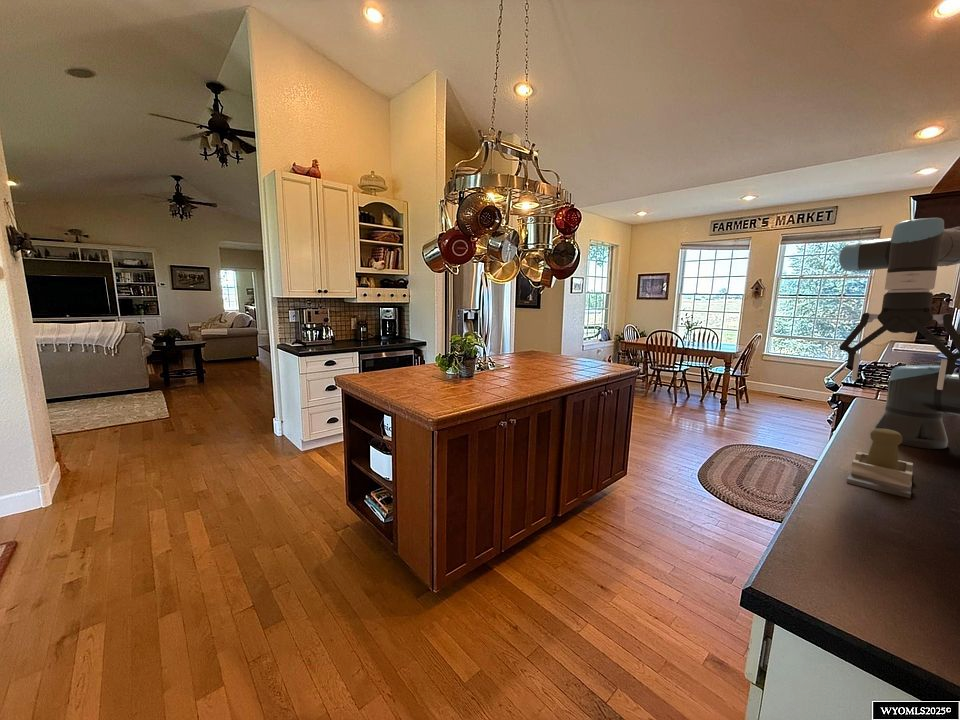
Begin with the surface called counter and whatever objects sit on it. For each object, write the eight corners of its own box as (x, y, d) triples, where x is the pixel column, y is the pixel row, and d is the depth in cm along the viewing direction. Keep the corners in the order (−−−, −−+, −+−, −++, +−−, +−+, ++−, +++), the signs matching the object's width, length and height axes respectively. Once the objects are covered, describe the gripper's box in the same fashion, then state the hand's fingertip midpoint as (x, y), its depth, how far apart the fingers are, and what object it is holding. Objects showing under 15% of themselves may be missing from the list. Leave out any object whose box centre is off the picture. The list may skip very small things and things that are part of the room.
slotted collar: (855, 461, 102) (857, 447, 102) (911, 474, 95) (914, 458, 94) (846, 482, 91) (849, 466, 90) (910, 498, 83) (913, 480, 83)
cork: (906, 480, 89) (913, 434, 88) (875, 478, 90) (882, 433, 89) (885, 469, 95) (891, 426, 93) (856, 467, 96) (862, 425, 95)
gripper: (831, 292, 94) (821, 378, 97) (1003, 289, 75) (983, 395, 78) (835, 293, 99) (825, 375, 102) (997, 289, 80) (979, 390, 83)
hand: (894, 384), depth 90 cm, fingers open, 13 cm apart
